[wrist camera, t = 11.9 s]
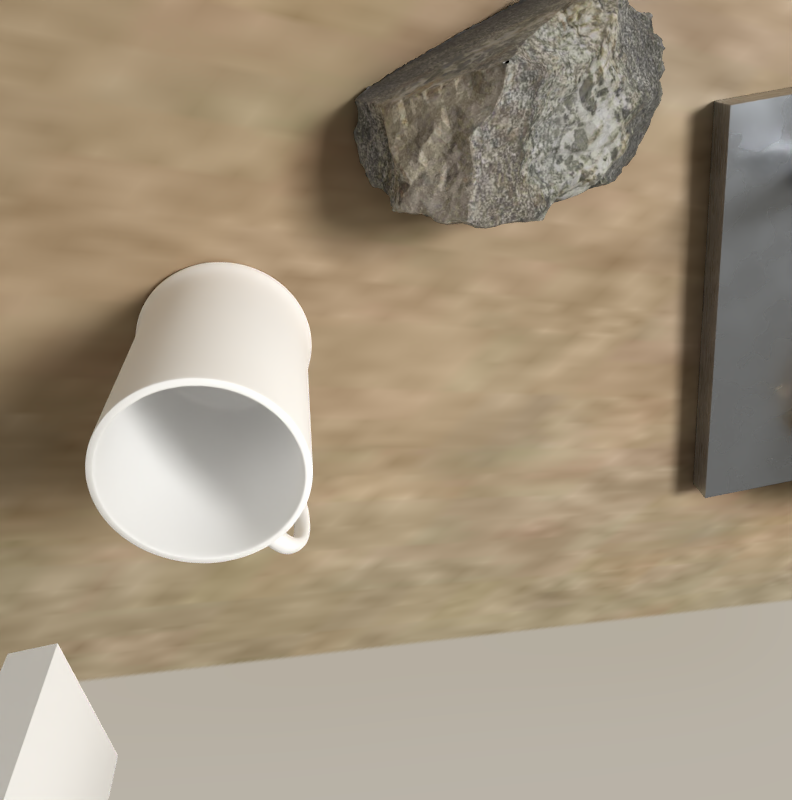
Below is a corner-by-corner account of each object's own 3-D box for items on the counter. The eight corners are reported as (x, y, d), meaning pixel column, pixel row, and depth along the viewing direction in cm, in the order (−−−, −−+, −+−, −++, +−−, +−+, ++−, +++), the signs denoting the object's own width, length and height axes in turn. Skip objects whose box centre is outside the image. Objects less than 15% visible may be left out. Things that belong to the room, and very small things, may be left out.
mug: (362, 428, 41) (386, 577, 31) (219, 486, 42) (196, 651, 31) (265, 232, 35) (255, 333, 25) (102, 302, 36) (25, 430, 26)
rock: (613, -52, 32) (683, -57, 26) (666, 139, 36) (736, 170, 30) (330, 102, 33) (338, 128, 28) (413, 267, 37) (435, 320, 32)
